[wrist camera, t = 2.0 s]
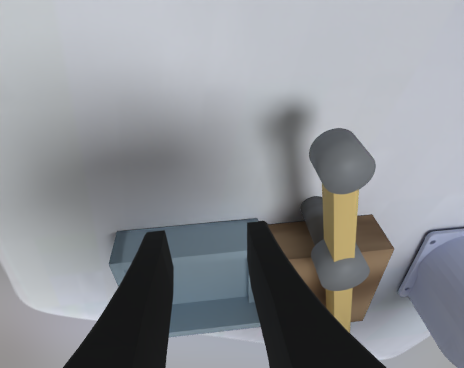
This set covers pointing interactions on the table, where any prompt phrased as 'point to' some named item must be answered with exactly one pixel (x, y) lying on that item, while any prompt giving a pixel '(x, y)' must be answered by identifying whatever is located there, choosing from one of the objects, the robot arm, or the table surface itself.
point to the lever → (340, 217)
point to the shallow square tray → (200, 275)
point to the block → (312, 231)
